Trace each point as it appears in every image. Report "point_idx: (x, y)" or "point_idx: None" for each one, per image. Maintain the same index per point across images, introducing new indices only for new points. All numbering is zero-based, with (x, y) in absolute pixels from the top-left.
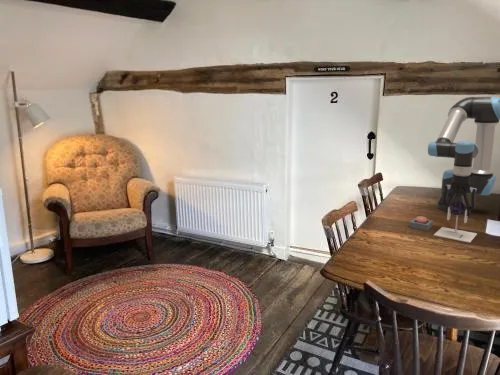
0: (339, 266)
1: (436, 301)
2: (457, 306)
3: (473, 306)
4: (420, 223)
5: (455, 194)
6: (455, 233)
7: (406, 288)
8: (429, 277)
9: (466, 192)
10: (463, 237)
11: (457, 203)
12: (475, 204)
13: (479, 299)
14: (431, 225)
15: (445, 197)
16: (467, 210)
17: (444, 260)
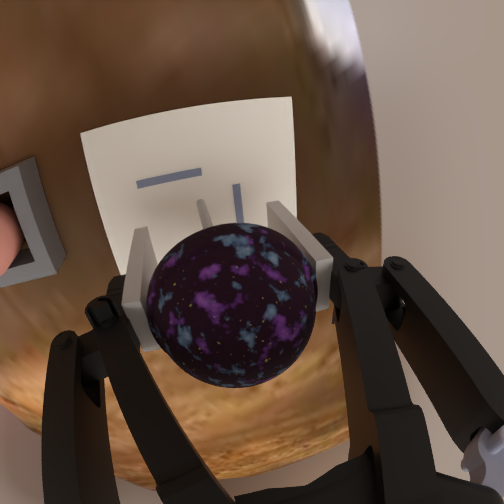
0: (151, 483)
1: (301, 458)
2: (324, 449)
3: (340, 440)
4: (18, 273)
5: (205, 466)
6: (194, 186)
7: (260, 468)
8: (273, 447)
9: (417, 450)
10: (253, 217)
11: (250, 385)
12: (425, 284)
13: (346, 430)
14: (36, 187)
15: (104, 452)
16: (327, 291)
17: (270, 406)
